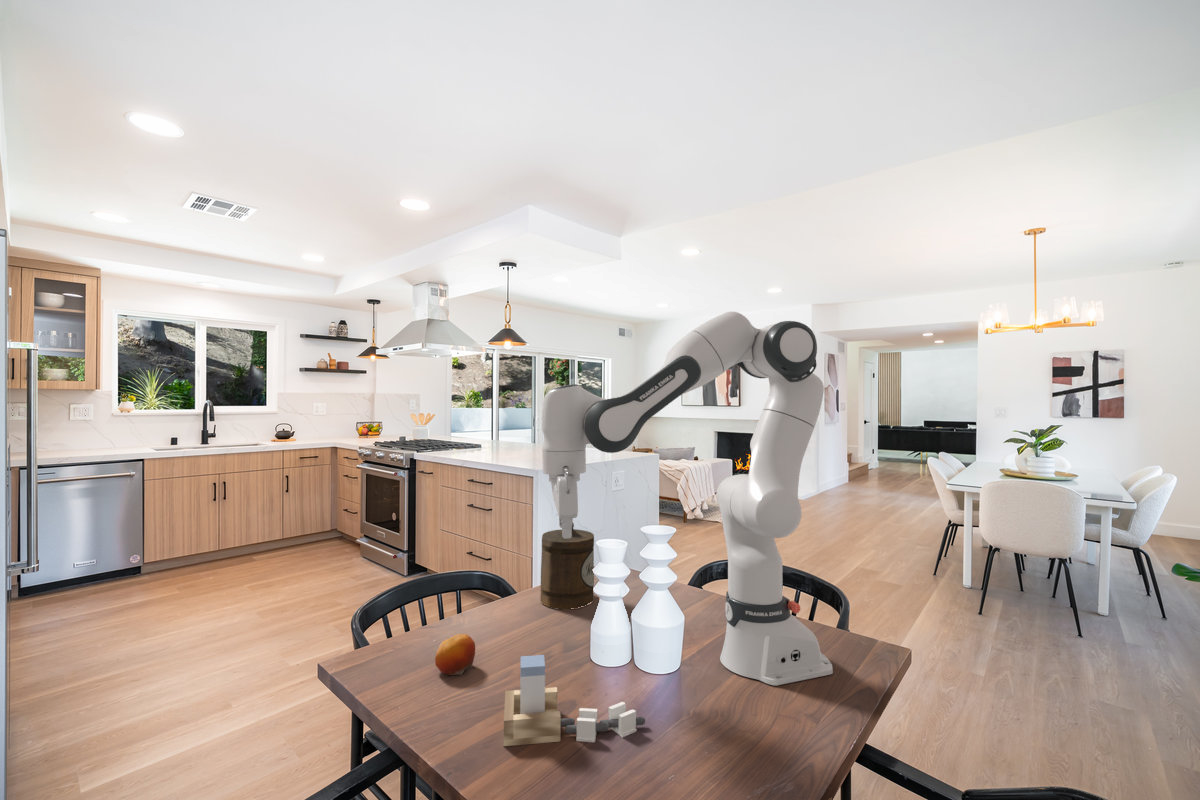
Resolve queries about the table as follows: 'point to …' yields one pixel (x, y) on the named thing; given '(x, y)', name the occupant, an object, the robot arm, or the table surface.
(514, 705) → the end holder
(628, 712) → the clip
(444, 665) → the fruit
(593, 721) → the clip
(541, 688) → the block
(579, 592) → the wooden container
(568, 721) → the cable
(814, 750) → the table surface
